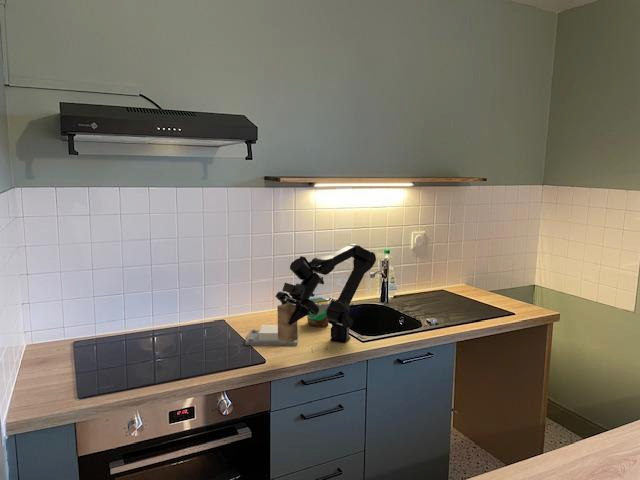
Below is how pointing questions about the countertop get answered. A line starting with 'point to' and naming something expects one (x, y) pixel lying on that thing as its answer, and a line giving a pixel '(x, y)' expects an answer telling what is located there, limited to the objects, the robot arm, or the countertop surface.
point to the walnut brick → (286, 323)
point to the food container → (319, 316)
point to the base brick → (267, 336)
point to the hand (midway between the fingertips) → (284, 322)
